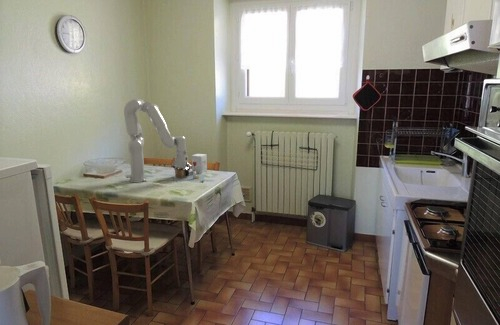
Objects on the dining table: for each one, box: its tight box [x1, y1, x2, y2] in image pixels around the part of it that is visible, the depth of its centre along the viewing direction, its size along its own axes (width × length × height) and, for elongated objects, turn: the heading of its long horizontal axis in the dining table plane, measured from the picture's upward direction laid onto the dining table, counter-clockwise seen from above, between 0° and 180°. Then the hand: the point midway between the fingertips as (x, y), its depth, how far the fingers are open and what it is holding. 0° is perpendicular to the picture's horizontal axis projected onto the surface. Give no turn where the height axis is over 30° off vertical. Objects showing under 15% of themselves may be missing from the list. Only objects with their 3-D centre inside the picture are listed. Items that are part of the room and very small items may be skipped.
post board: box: [172, 172, 206, 183], centre depth 263 cm, size 22×18×6 cm
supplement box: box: [191, 153, 208, 174], centre depth 281 cm, size 9×9×15 cm
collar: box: [174, 168, 188, 178], centre depth 266 cm, size 7×7×6 cm
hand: (182, 175), depth 266 cm, fingers open, 9 cm apart
